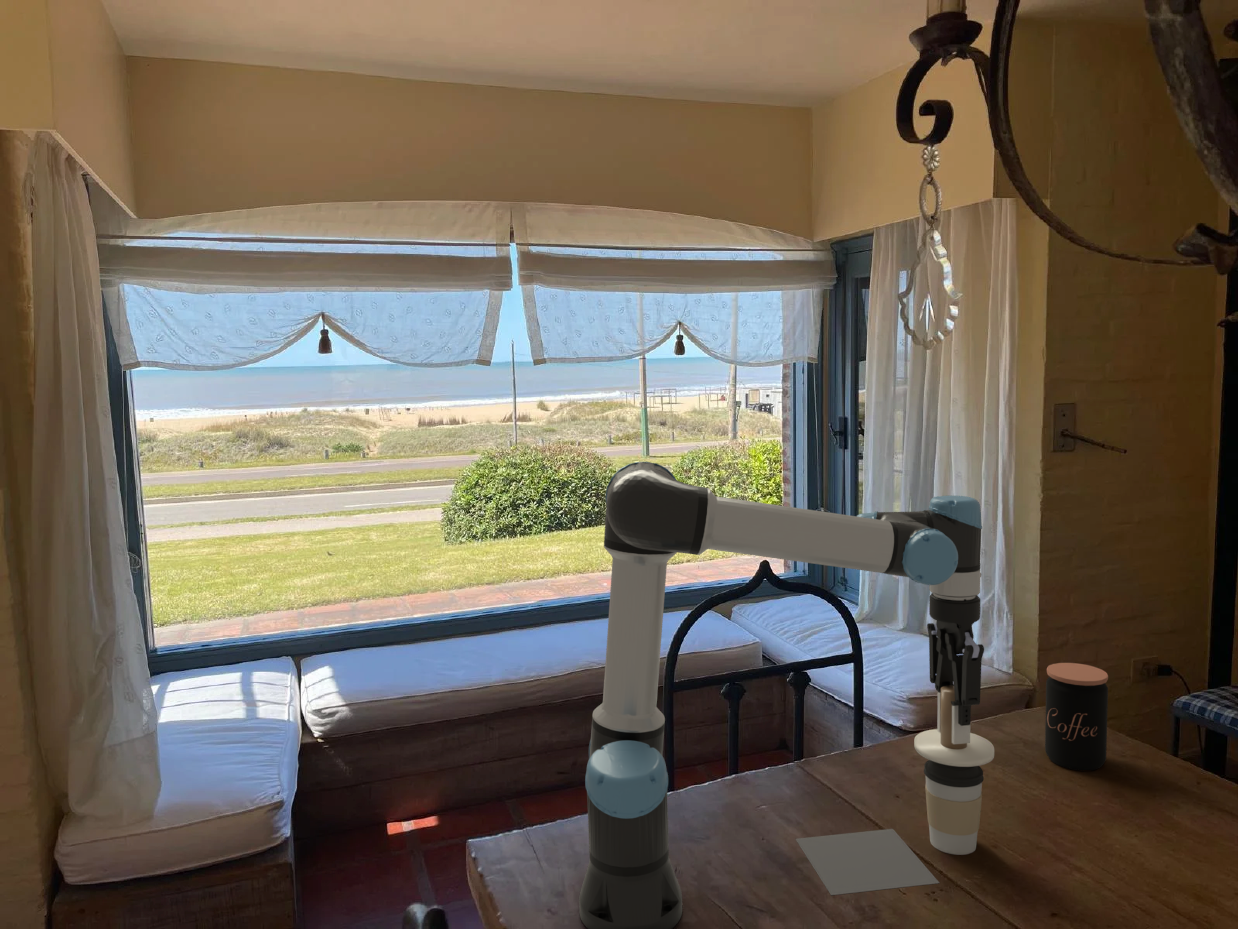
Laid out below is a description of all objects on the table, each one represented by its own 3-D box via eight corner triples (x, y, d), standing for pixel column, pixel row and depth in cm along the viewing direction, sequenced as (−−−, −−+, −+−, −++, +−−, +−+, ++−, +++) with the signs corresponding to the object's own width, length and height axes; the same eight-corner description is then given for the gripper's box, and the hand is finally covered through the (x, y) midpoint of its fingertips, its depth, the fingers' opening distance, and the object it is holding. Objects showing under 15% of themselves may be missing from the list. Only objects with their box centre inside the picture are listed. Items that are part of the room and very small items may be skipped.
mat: (831, 900, 129) (831, 895, 129) (795, 843, 145) (795, 838, 145) (939, 888, 131) (939, 883, 131) (892, 833, 147) (892, 828, 147)
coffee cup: (988, 865, 137) (989, 773, 135) (927, 860, 139) (928, 770, 137) (976, 835, 146) (977, 749, 144) (919, 831, 147) (920, 746, 146)
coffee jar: (1035, 760, 172) (1037, 672, 170) (1057, 744, 179) (1059, 659, 177) (1094, 778, 164) (1096, 685, 162) (1114, 759, 171) (1116, 670, 170)
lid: (936, 770, 134) (937, 707, 133) (901, 738, 146) (901, 680, 145) (1009, 763, 135) (1010, 700, 134) (968, 732, 147) (969, 674, 146)
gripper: (1007, 606, 130) (1005, 757, 132) (949, 580, 147) (948, 714, 149) (960, 609, 129) (958, 761, 131) (907, 583, 146) (907, 718, 148)
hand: (953, 736), depth 140 cm, fingers closed on lid, 4 cm apart
